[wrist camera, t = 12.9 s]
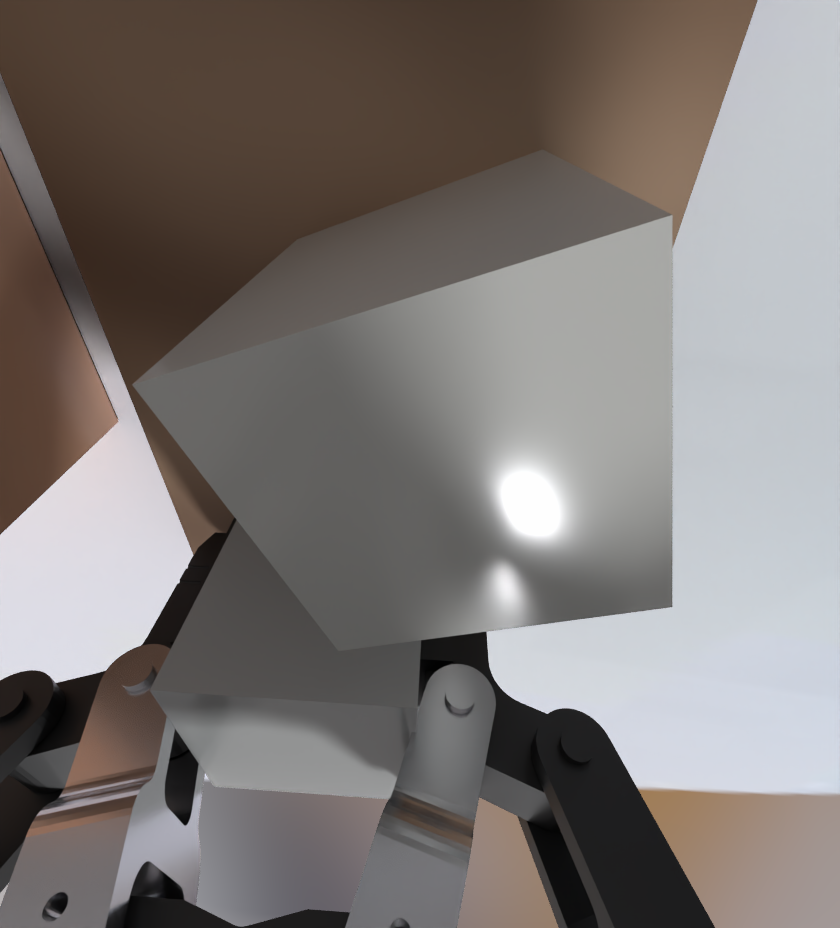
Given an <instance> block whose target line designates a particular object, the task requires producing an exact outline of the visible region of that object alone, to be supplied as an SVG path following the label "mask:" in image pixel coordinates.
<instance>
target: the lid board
mask: <svg viewBox="0 0 840 928" xmlns="http://www.w3.org/2000/svg"><path fill="white" fill-rule="evenodd" d="M756 3H757V0H0V73H1V75H2V78H3V80H4V83H5V85H6V88H7V90H8V93H9V95H10V98H11V100H12V103H13V105H14V108H15V110H16V113H17V115H18V118H19V120H20V123H21V125H22V128H23V130H24V133H25V135H26V138H27V140H28V143H29V145H30V148H31V150H32V153H33V155H34V158H35V160H36V163H37V165H38V168H39V170H40V173H41V175H42V178H43V180H44V183H45V185H46V188H47V190H48V193H49V195H50V198H51V200H52V203H53V205H54V208H55V210H56V213H57V215H58V218H59V220H60V223H61V225H62V228H63V230H64V233H65V235H66V238H67V240H68V243H69V245H70V248H71V250H72V253H73V255H74V258H75V260H76V263H77V265H78V268H79V270H80V273H81V275H82V278H83V280H84V283H85V285H86V288H87V290H88V293H89V295H90V298H91V300H92V303H93V305H94V308H95V310H96V313H97V315H98V317H99V320H100V322H101V325H102V327H103V330H104V332H105V335H106V337H107V340H108V342H109V345H110V347H111V350H112V352H113V355H114V357H115V360H116V362H117V365H118V367H119V370H120V372H121V375H122V377H123V380H124V382H125V385H126V387H127V390H128V392H129V395H130V397H131V400H132V402H133V405H134V407H135V410H136V412H137V415H138V417H139V420H140V422H141V425H142V427H143V430H144V432H145V435H146V437H147V440H148V442H149V445H150V447H151V450H152V452H153V455H154V457H155V460H156V462H157V465H158V467H159V470H160V472H161V475H162V477H163V480H164V482H165V485H166V487H167V490H168V492H169V495H170V497H171V500H172V502H173V505H174V507H175V510H176V512H177V515H178V517H179V520H180V522H181V525H182V527H183V530H184V532H185V535H186V537H187V540H188V542H189V545H190V547H191V550H192V552H193V555H194V554H195V552H196V550H197V549H198V547H199V546H200V545H202V544H203V543H204V542H205V541H206V540H207V539H208V538H209V537H211V536H212V535H213V534H214V533H215V532H218V533H227V531H228V529H229V527H230V525H231V523H232V521H233V519H234V516H233V514H232V513H231V512H230V511H229V509H228V508H227V507H226V505H225V504H224V503H223V502H222V500H221V499H220V498H219V496H218V495H217V494H216V492H215V491H214V490H213V489H212V487H211V486H210V485H209V483H208V482H207V481H206V480H205V478H204V477H203V476H202V474H201V473H200V472H199V471H198V469H197V468H196V467H195V465H194V464H193V463H192V461H191V460H190V459H189V458H188V456H187V455H186V454H185V452H184V451H183V450H182V449H181V447H180V446H179V445H178V443H177V442H176V441H175V440H174V438H173V437H172V436H171V434H170V433H169V432H168V430H167V429H166V428H165V427H164V425H163V424H162V423H161V421H160V420H159V419H158V418H157V416H156V415H155V414H154V412H153V411H152V410H151V409H150V407H149V406H148V405H147V403H146V402H145V401H144V400H143V398H142V397H141V396H140V394H139V393H138V392H137V390H136V389H135V388H134V387H133V385H132V384H133V383H134V382H136V381H137V380H138V379H139V378H140V377H141V376H142V375H144V374H145V373H146V372H147V371H148V370H149V369H150V368H152V367H153V366H154V365H155V364H156V363H157V362H158V361H159V360H161V359H162V358H163V357H164V356H165V355H166V354H167V353H169V352H170V351H171V350H172V349H173V348H174V347H175V346H177V345H178V344H179V343H180V342H181V341H182V340H183V339H184V338H186V337H187V336H188V335H189V334H190V333H191V332H192V331H194V330H195V329H196V328H197V327H198V326H199V325H200V324H202V323H203V322H204V321H205V320H206V319H207V318H208V317H209V316H211V315H212V314H213V313H214V312H215V311H216V310H217V309H219V308H220V307H221V306H222V305H223V304H224V303H225V302H227V301H228V300H229V299H230V298H231V297H232V296H233V295H234V294H236V293H237V292H238V291H239V290H240V289H241V288H242V287H244V286H245V285H246V284H247V283H248V282H249V281H250V280H252V279H253V278H254V277H255V276H256V275H257V274H258V273H259V272H261V271H262V270H263V269H264V268H265V267H266V266H267V265H269V264H270V263H271V262H272V261H273V260H274V259H275V258H277V257H278V256H279V255H280V254H281V253H282V252H283V251H284V250H286V249H287V248H288V247H289V246H290V245H291V244H292V243H294V242H295V241H296V240H297V239H299V238H302V237H305V236H308V235H310V234H313V233H316V232H319V231H321V230H324V229H327V228H329V227H332V226H335V225H338V224H340V223H343V222H346V221H349V220H351V219H354V218H357V217H359V216H362V215H365V214H368V213H370V212H373V211H376V210H379V209H381V208H384V207H387V206H389V205H392V204H395V203H398V202H400V201H403V200H406V199H409V198H411V197H414V196H417V195H419V194H422V193H425V192H428V191H430V190H433V189H436V188H439V187H441V186H444V185H447V184H449V183H452V182H455V181H458V180H460V179H463V178H466V177H469V176H471V175H474V174H477V173H479V172H482V171H485V170H488V169H490V168H493V167H496V166H499V165H501V164H504V163H507V162H509V161H512V160H515V159H518V158H520V157H523V156H526V155H529V154H531V153H534V152H537V151H539V150H542V149H543V150H545V151H547V152H549V153H551V154H553V155H555V156H557V157H559V158H561V159H563V160H565V161H567V162H569V163H571V164H573V165H575V166H577V167H579V168H581V169H583V170H585V171H587V172H589V173H591V174H593V175H595V176H597V177H599V178H601V179H602V180H604V181H606V182H608V183H610V184H612V185H614V186H616V187H618V188H620V189H622V190H624V191H626V192H628V193H630V194H632V195H634V196H636V197H638V198H640V199H642V200H644V201H646V202H648V203H650V204H652V205H654V206H656V207H658V208H660V209H662V210H664V211H666V212H668V213H670V214H672V248H673V245H674V242H675V239H676V236H677V233H678V231H679V228H680V225H681V222H682V219H683V216H684V213H685V210H686V207H687V204H688V201H689V198H690V196H691V193H692V190H693V187H694V184H695V181H696V178H697V175H698V172H699V169H700V166H701V164H702V161H703V158H704V155H705V152H706V149H707V146H708V143H709V140H710V137H711V134H712V131H713V129H714V126H715V123H716V120H717V117H718V114H719V111H720V108H721V105H722V102H723V99H724V96H725V94H726V91H727V88H728V85H729V82H730V79H731V76H732V73H733V70H734V67H735V64H736V61H737V59H738V56H739V53H740V50H741V47H742V44H743V41H744V38H745V35H746V32H747V29H748V27H749V24H750V21H751V18H752V15H753V12H754V9H755V6H756Z"/></svg>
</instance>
